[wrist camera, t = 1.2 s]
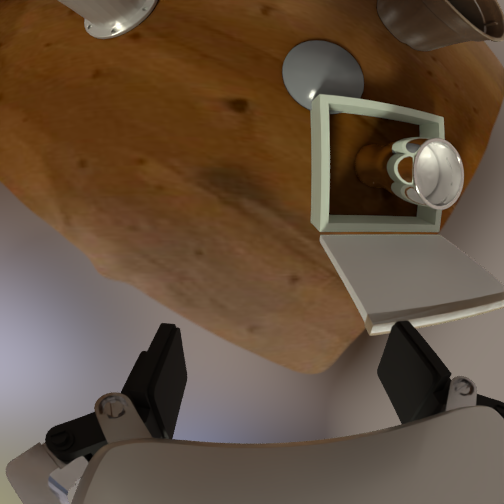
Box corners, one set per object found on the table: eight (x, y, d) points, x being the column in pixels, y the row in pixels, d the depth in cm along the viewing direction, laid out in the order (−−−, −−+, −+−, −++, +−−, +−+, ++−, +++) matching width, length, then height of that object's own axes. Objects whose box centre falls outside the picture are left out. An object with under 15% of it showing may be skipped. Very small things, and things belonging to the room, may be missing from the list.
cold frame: (310, 102, 31) (319, 94, 26) (424, 120, 31) (443, 117, 26) (310, 222, 36) (319, 231, 31) (420, 223, 36) (439, 232, 31)
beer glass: (347, 142, 32) (407, 135, 18) (391, 139, 32) (461, 136, 18) (354, 193, 34) (414, 216, 20) (397, 188, 34) (466, 208, 20)
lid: (373, 324, 16) (369, 335, 17) (516, 296, 16) (512, 304, 17) (320, 235, 31) (319, 243, 31) (440, 234, 31) (438, 241, 31)
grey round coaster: (280, 39, 27) (280, 37, 27) (357, 48, 27) (359, 46, 27) (283, 112, 31) (284, 111, 30) (363, 118, 31) (366, 117, 30)
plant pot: (459, 49, 25) (519, 30, 10) (413, 78, 28) (484, 53, 13) (401, -21, 21) (445, -59, 6) (343, -2, 24) (383, -59, 9)
